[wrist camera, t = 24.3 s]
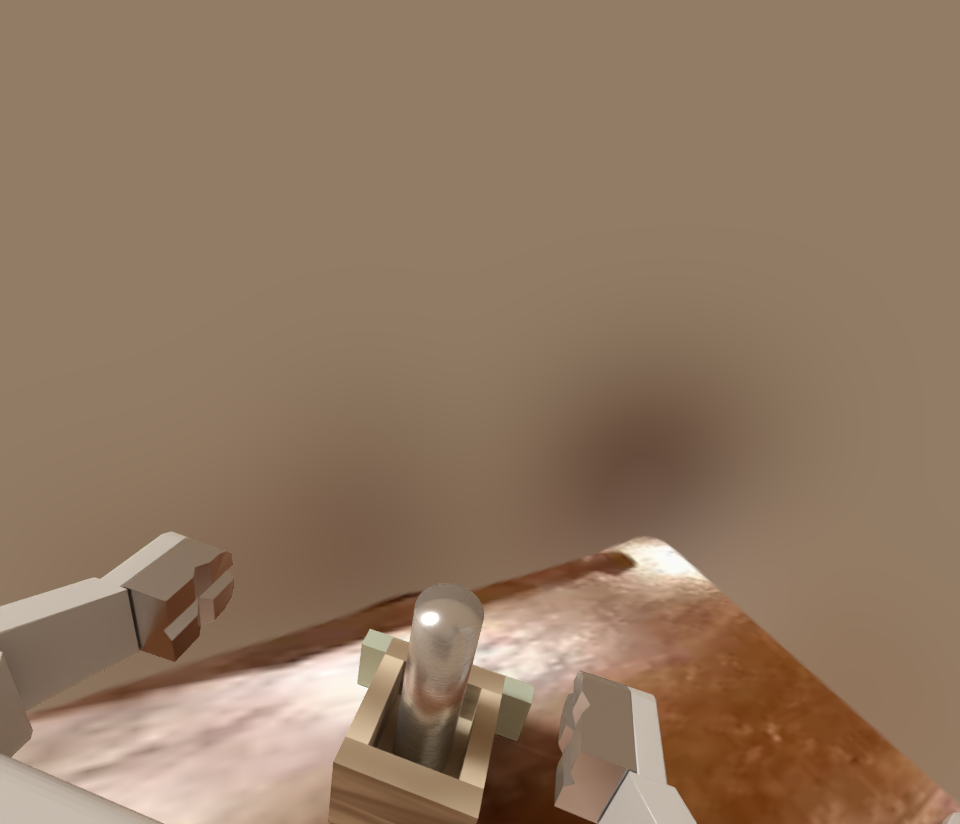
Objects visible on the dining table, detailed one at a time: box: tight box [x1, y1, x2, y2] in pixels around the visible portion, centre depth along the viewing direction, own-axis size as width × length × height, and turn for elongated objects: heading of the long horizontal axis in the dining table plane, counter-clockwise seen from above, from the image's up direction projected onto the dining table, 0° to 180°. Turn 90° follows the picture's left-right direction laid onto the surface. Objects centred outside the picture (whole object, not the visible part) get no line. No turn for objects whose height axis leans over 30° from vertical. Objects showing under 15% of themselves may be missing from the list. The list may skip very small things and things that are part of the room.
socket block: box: [328, 638, 506, 824], centre depth 32 cm, size 9×9×7 cm
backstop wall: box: [357, 629, 534, 742], centre depth 38 cm, size 2×14×5 cm, turn 77°
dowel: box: [393, 583, 484, 773], centre depth 29 cm, size 4×4×14 cm
